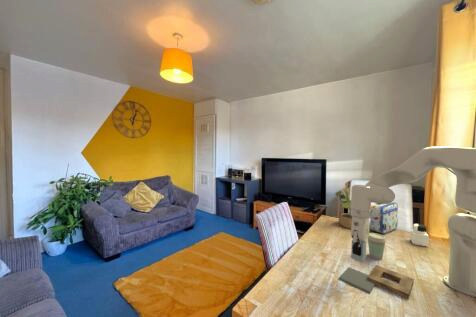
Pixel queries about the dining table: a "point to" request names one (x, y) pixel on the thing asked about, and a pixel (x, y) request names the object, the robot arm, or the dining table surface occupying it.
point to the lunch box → (384, 217)
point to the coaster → (357, 279)
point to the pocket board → (400, 289)
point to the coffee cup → (376, 245)
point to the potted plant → (345, 218)
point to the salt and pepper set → (419, 235)
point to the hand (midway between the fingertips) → (358, 252)
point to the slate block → (363, 252)
